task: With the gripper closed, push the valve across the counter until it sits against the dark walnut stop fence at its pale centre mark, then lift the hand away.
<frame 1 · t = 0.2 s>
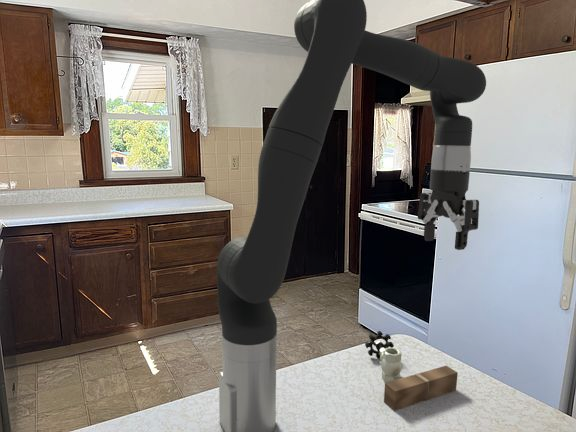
hand: (443, 244, 89), 28 cm above the countertop, tool pointing down, fingers open, 8 cm apart
walnut stop fence: (420, 396, 83), on the countertop
valve: (385, 371, 93), on the countertop
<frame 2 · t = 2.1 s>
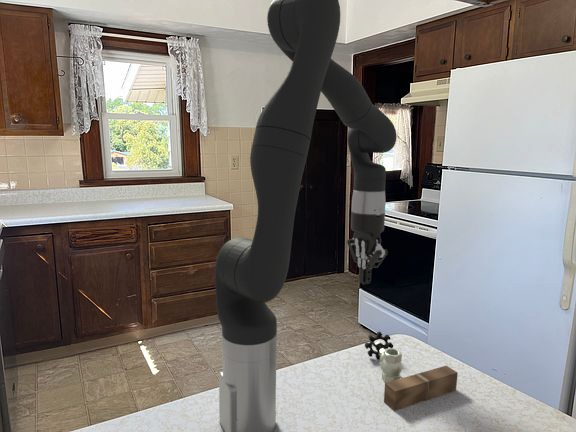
hand: (364, 283, 98), 17 cm above the countertop, tool pointing down, fingers closed
nothing on the countertop moved.
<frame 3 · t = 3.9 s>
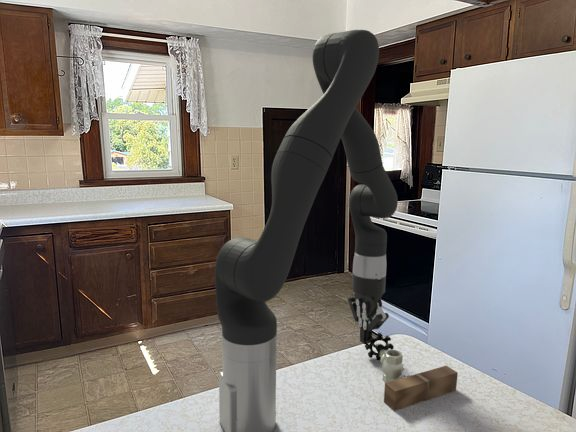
hand: (365, 342, 99), 3 cm above the countertop, tool pointing down, fingers closed
valve: (385, 373, 92), on the countertop, touching gripper
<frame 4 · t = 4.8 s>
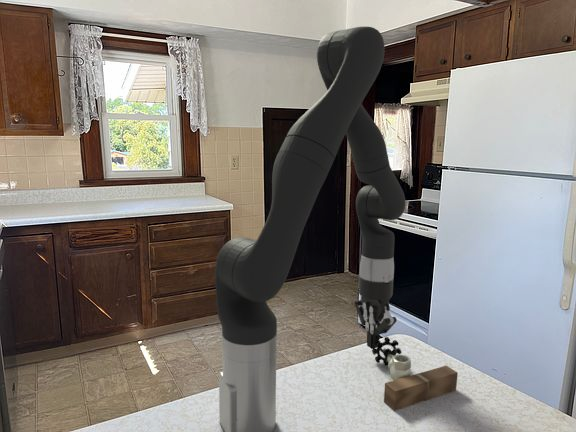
hand: (372, 347, 97), 3 cm above the countertop, tool pointing down, fingers closed
valve: (393, 378, 90), on the countertop, touching gripper
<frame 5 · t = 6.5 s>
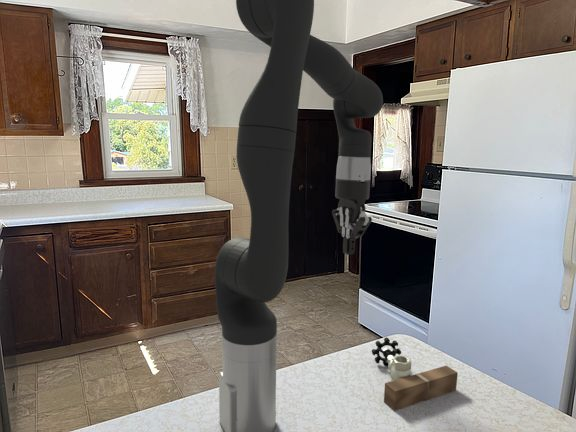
hand: (348, 253, 96), 25 cm above the countertop, tool pointing down, fingers closed
valve: (393, 379, 90), on the countertop
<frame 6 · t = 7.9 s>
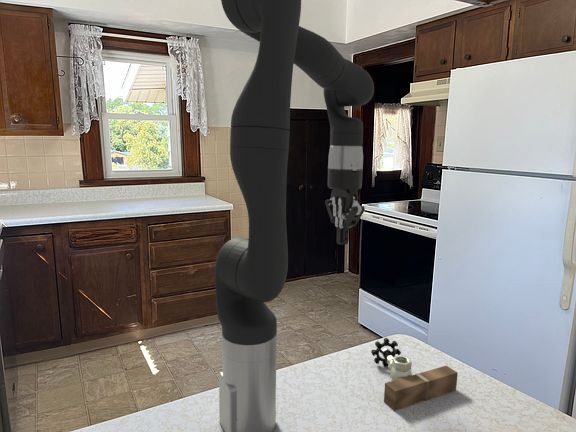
hand: (342, 243, 95), 27 cm above the countertop, tool pointing down, fingers closed
nothing on the countertop moved.
at the end: valve inside the target area (0.8 cm from its centre), on the countertop; valve moved 3.8 cm from its start; valve tilted 2° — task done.
